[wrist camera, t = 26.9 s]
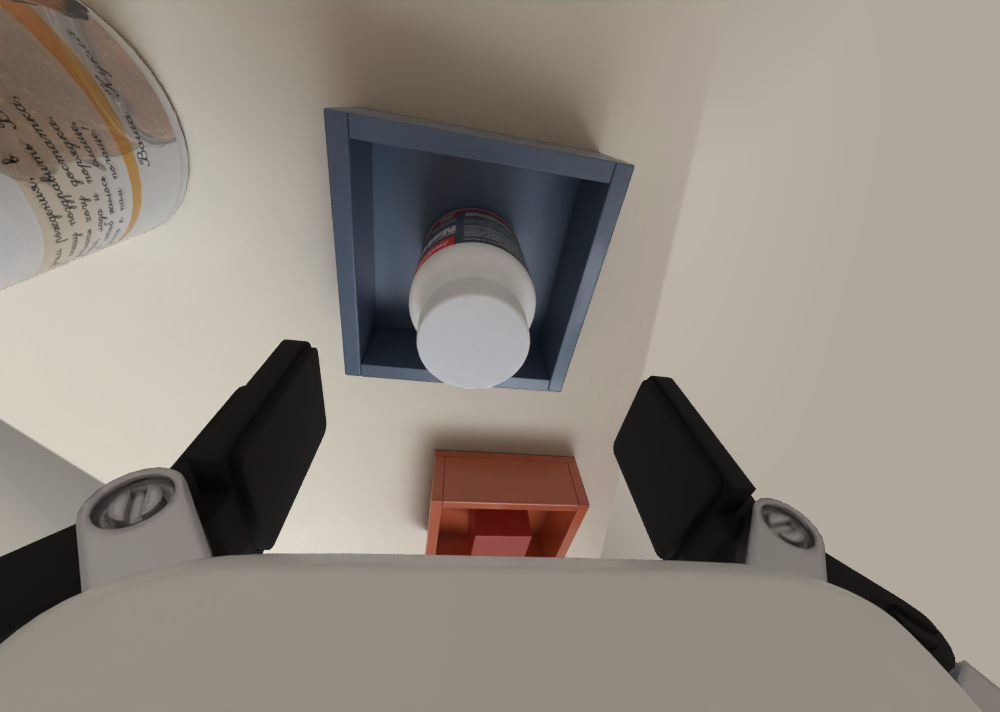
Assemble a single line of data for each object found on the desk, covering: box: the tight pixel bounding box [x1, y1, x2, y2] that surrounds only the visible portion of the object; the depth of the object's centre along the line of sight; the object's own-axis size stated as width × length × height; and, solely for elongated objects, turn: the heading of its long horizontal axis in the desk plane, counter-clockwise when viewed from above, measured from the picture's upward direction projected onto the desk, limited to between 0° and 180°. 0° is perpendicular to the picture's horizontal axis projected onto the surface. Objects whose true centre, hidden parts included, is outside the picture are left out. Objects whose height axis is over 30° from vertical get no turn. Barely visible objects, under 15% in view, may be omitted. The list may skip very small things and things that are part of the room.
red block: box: [468, 509, 532, 557], centre depth 31 cm, size 4×4×4 cm
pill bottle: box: [409, 208, 536, 389], centre depth 16 cm, size 5×5×9 cm
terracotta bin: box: [425, 450, 590, 558], centre depth 31 cm, size 12×12×5 cm
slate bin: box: [324, 107, 634, 392], centre depth 19 cm, size 12×12×5 cm
